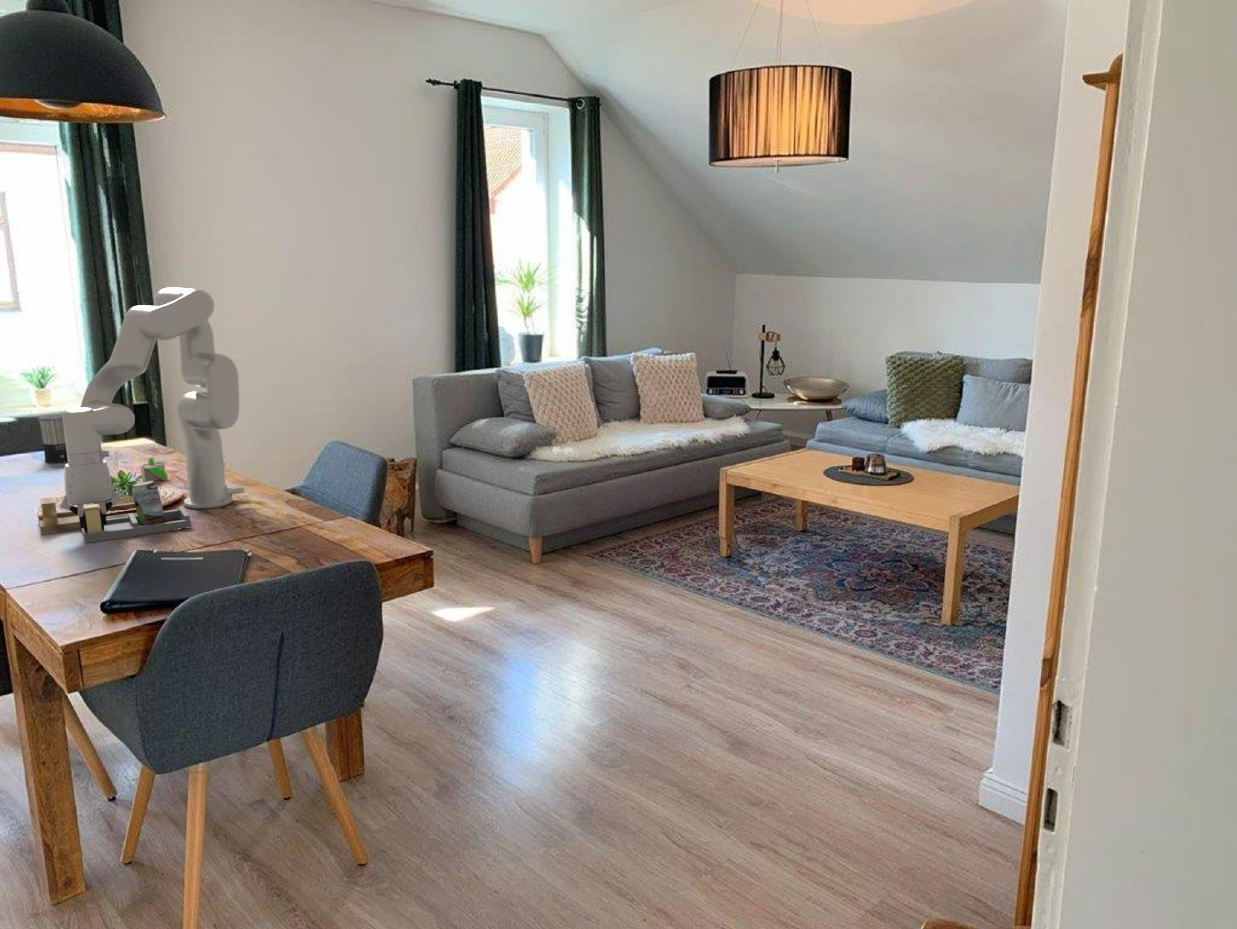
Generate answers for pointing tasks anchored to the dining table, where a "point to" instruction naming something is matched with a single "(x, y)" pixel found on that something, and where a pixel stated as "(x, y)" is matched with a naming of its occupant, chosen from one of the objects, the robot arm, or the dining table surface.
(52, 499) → the plank with end posts
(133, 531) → the grey divided tray
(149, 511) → the grey printed packet
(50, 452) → the milk frother
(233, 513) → the dining table surface
